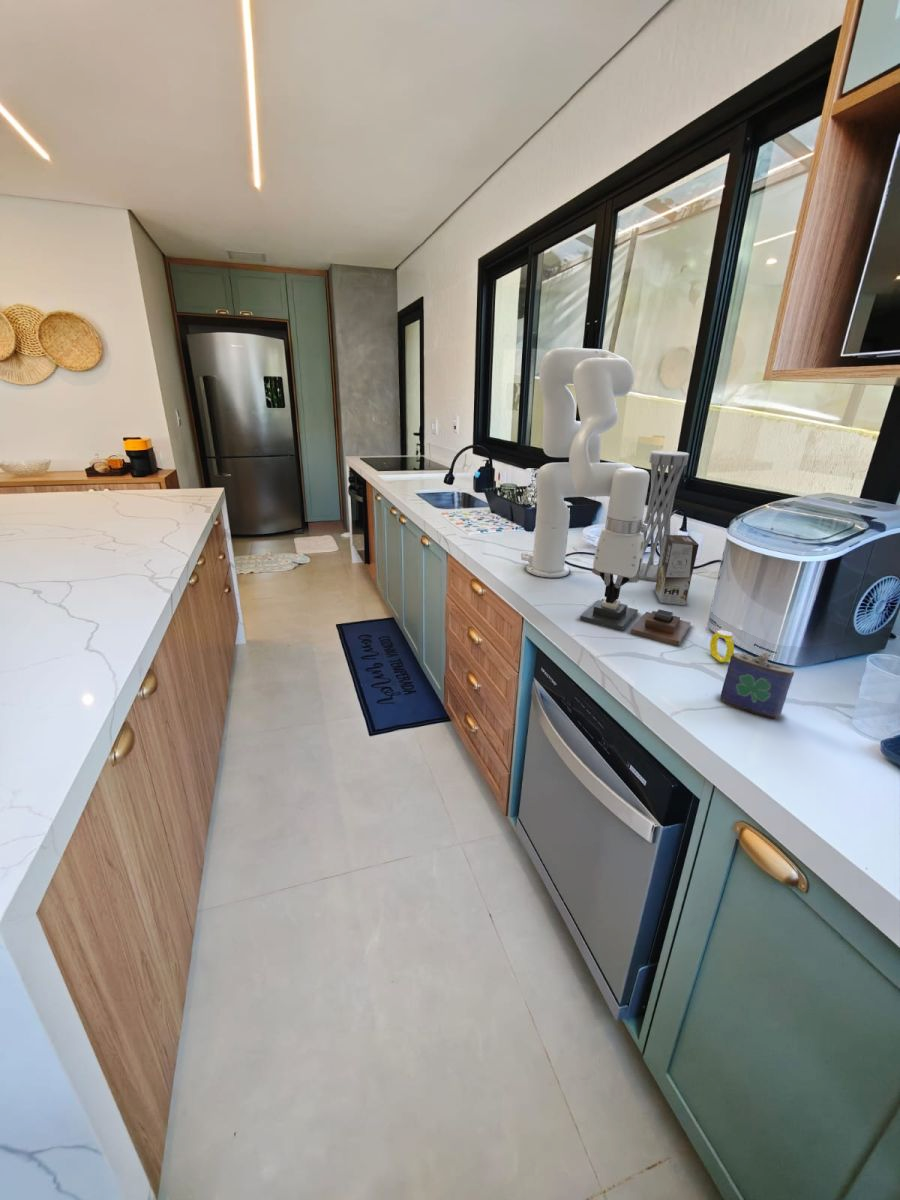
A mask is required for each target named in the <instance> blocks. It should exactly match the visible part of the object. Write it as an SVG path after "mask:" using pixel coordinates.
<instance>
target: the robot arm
mask: <svg viewBox="0 0 900 1200" xmlns="http://www.w3.org/2000/svg"><path fill="white" fill-rule="evenodd" d="M538 376H539V377H538V379H539V380H538V381H539V387H540V392H541V397H542V402H543V405H542V406H543V409H542V410H543V411H542V412H543V413H542V450H543V453H544V454H545V455H546V456H548V457H549V458H550V457H551V458H568V462H567V461H566V462H565V461H563V462H549V463H545V464H544V465H542V466H540V467H539V468H538V470H537V472H536V475H535V489H536V514H535V526H534V538H533V550H532V553H530V552H525V551H522V553H521V555H520V557H521V561H524V562H528V564H526V572H528V573H530V574H532V575H534V576H536V577H537V576H538V577H542V578H553V579H554V578H562V577H565V576H567V575H569V573H570V567H569V566H568V565H566V564H565V563H566V554H567V548H568V547H567V546H568V537H569V529H570V520H571V513H570V509H569V507H568V505H567V503H566V501H565V498H580V497H581V498H582V497H583V498H584V497H585V498H595V497H609V501H608V505H607V507H608V508H607V514H606V520H605V526H604V527H603V528H602V529H601V532H600V534H599V537H598V541H597V543H596V548H595V552H594V556H593V563H592V564H593V565H592V567H593V568H592V569H591V573H592V574H594V575H596V576H598V577H600V578H601V580H602V581H603V583H604V586H605V590H604V597H605V599H606V602H610V603H614V602H615V601H616V600H618V601H619V598H620V595H621V594H620V593H621V588H622V586H624V585H625V584H627V583H629V584H630V583H631V584H635V583H636V584H637V583H638V582H639V581H640V579H639V572H640V571H641V568H642V563H643V559H644V555H643V551H644V533H642V532H641V530H647V529H648V530H649V528H648V524H645V523H644V519H643V518H644V512H645V508H646V507H645V506H646V502H647V495H648V489H649V484H650V479H651V475H650V473H649V471H647V470H645V469H644V468H643V469H642V468H638V467H637V468H636V467H634V466H633V465H632V464H630V463H628V462H601V452H602V451H601V449H602V439H601V438H602V436H601V434H604V433H605V432H607V431H609V430H610V429H612V428H614V427H615V426H616V424H617V423H618V422H619V411H618V407H617V402H616V397H617V398H618V397H620V398H621V397H624V396H626V395H628V394H629V393H630V392H631V391H632V389H633V386H634V382H635V371H634V368H633V366H632V364H631V362H630V361H629V360H628V359H626V358H625V357H624V356H623V357H622V356H621V355H618V354H616V353H614V352H612V351H610V350H607V349H601V348H585V347H557V348H553V349H551V350H549V351H547V352H546V353H545V355H544V356H543V357H542V359H541V363H540V366H539V374H538ZM567 385H573V387H574V393H575V397H574V396H573V393H572V392H571V390H570V389H569V387H568V386H567ZM575 398H576V401H575ZM576 403H577V404H576ZM576 405H577V406H576ZM576 407H577V410H578V415H579V420H576ZM614 576H616V579H615V582H614Z"/></svg>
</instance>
